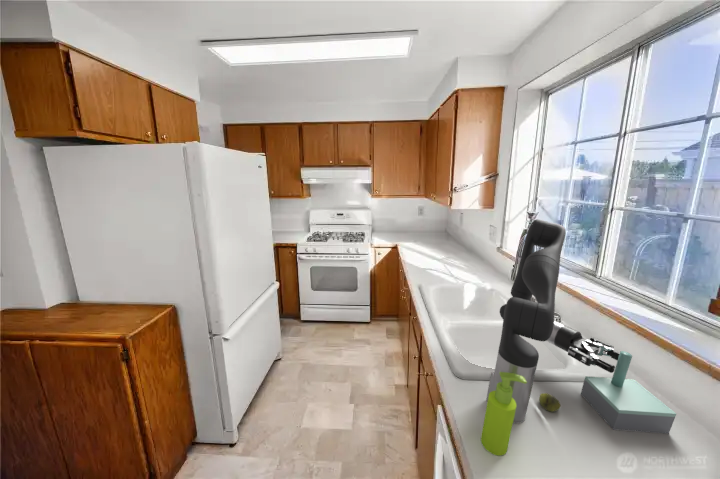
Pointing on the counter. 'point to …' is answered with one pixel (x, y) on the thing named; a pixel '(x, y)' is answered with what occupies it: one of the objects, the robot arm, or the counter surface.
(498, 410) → the soap dispenser
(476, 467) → the counter surface
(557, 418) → the counter surface
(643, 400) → the lid
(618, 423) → the tub
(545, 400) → the lime
